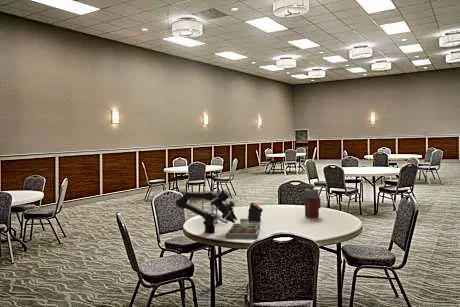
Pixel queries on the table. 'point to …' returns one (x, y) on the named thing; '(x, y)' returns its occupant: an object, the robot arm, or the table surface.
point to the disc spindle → (244, 223)
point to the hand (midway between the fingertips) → (235, 221)
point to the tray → (245, 229)
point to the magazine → (254, 213)
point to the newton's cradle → (215, 210)
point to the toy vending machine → (312, 202)
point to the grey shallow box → (242, 235)
